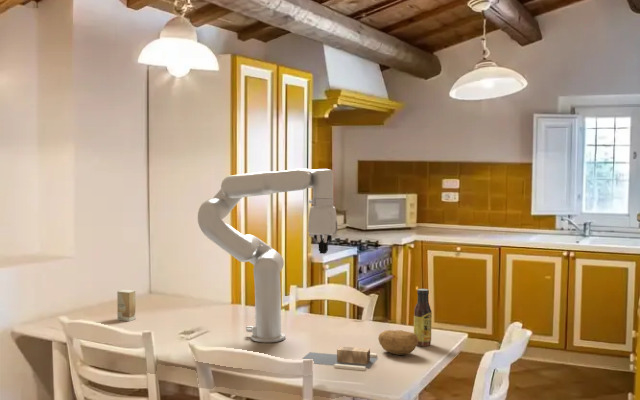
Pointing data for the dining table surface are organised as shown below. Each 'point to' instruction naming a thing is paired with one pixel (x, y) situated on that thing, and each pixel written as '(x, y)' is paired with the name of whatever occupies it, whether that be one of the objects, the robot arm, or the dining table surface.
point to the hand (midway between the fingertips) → (323, 253)
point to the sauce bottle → (423, 318)
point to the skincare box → (126, 305)
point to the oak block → (353, 355)
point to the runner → (332, 360)
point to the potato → (398, 341)
